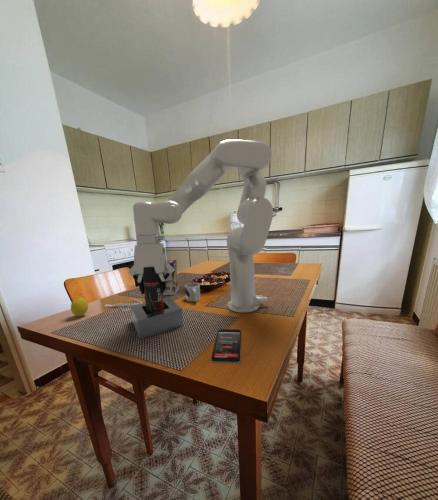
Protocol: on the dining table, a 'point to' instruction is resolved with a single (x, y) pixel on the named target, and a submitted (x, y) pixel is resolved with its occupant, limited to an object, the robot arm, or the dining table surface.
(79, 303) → the lemon
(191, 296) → the mug
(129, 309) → the crossbow
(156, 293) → the deodorant
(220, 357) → the smartphone
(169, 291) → the coffee box
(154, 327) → the socket block
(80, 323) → the dining table surface
